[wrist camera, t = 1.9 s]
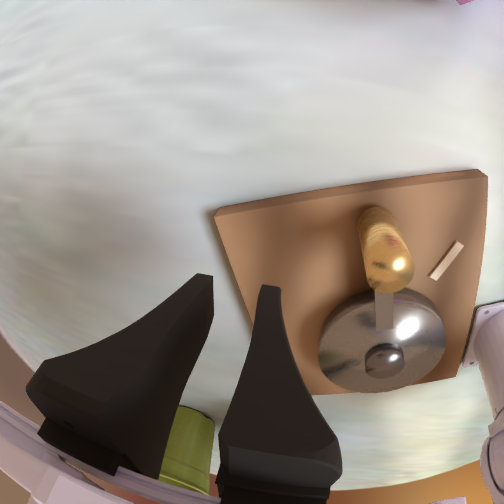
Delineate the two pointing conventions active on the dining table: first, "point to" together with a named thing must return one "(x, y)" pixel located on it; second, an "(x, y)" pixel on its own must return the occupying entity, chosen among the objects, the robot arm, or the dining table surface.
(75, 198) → the dining table surface
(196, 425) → the plant pot
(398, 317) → the crank handle wheel
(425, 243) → the cutting board
